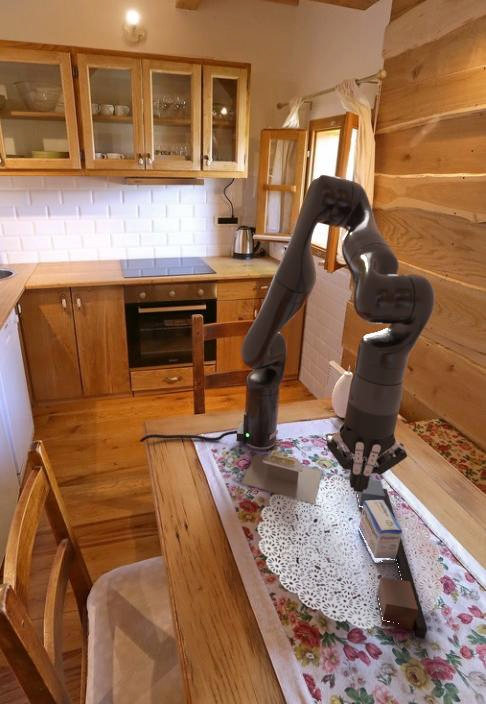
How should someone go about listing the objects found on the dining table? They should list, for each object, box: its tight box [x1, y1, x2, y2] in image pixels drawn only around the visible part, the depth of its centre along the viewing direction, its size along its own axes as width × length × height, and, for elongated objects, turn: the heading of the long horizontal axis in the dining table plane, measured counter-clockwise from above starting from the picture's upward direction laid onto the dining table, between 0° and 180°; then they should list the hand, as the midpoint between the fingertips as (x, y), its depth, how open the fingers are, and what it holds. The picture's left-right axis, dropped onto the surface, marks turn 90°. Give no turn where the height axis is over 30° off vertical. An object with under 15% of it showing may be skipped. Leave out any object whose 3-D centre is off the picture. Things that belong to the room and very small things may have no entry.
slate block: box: [355, 478, 385, 512], centre depth 94 cm, size 5×5×5 cm
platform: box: [241, 450, 323, 505], centre depth 101 cm, size 12×18×7 cm, turn 69°
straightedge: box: [383, 488, 428, 639], centre depth 82 cm, size 2×32×2 cm, turn 170°
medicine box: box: [357, 500, 403, 564], centre depth 82 cm, size 8×4×9 cm, turn 5°
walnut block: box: [376, 576, 418, 631], centre depth 70 cm, size 5×5×5 cm
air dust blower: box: [331, 365, 354, 419], centre depth 126 cm, size 8×8×18 cm
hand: (357, 488), depth 69 cm, fingers closed
